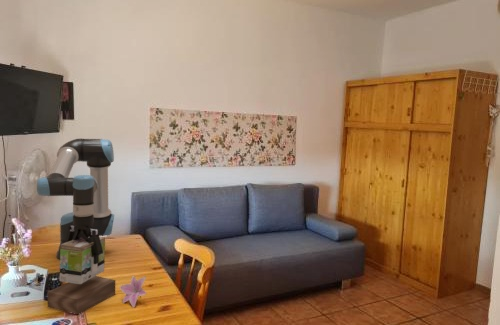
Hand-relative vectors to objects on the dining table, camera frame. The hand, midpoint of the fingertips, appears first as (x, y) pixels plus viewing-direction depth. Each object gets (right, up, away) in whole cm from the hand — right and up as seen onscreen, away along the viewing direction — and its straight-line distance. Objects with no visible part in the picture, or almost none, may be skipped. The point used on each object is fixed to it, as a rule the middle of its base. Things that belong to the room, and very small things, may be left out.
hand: (83, 269), depth 148 cm
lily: (+20, -14, +2) cm, 24 cm away
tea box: (0, -3, 0) cm, 3 cm away
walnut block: (-1, -13, +1) cm, 13 cm away
